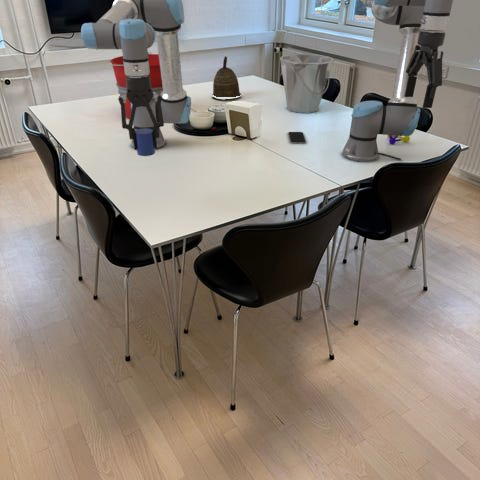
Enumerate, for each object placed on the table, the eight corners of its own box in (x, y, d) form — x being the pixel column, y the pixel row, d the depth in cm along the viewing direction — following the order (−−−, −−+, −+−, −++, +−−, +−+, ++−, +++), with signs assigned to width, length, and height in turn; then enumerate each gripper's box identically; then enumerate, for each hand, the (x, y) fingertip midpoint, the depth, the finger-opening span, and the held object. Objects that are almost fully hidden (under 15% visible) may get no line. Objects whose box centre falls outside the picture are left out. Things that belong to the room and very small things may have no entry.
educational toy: (377, 146, 209) (379, 114, 202) (384, 138, 219) (386, 107, 211) (411, 149, 202) (415, 116, 195) (417, 141, 212) (420, 109, 204)
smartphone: (290, 142, 209) (288, 131, 222) (290, 143, 209) (288, 133, 222) (306, 142, 209) (302, 131, 221) (305, 143, 209) (302, 133, 222)
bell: (227, 105, 294) (202, 96, 282) (238, 66, 289) (213, 55, 277) (243, 108, 280) (217, 98, 268) (255, 66, 275) (229, 55, 263)
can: (153, 156, 146) (151, 134, 143) (135, 156, 147) (133, 134, 143) (156, 150, 151) (154, 128, 148) (139, 149, 152) (136, 128, 148)
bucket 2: (304, 119, 242) (309, 65, 227) (267, 107, 261) (268, 57, 246) (338, 109, 259) (345, 58, 244) (301, 99, 278) (304, 51, 263)
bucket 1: (124, 105, 264) (117, 51, 248) (182, 105, 263) (179, 51, 247) (107, 122, 235) (98, 62, 219) (173, 123, 234) (169, 63, 218)
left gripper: (105, 79, 131) (116, 153, 143) (169, 77, 134) (174, 149, 147) (106, 74, 137) (117, 145, 150) (168, 72, 141) (173, 142, 153)
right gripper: (403, 26, 144) (391, 92, 155) (441, 36, 123) (423, 113, 134) (425, 26, 145) (412, 92, 156) (466, 36, 124) (447, 112, 135)
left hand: (145, 147), depth 148 cm, fingers closed on can, 6 cm apart
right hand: (417, 102), depth 145 cm, fingers open, 13 cm apart
